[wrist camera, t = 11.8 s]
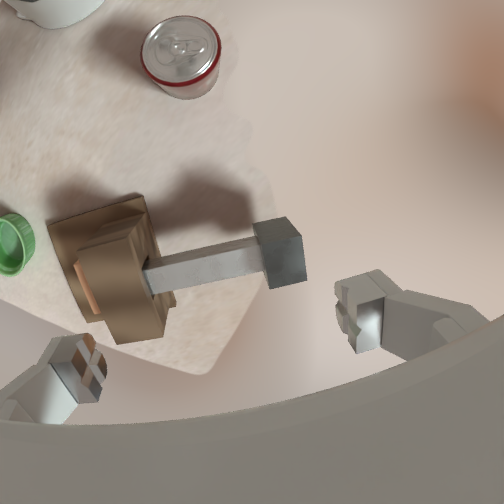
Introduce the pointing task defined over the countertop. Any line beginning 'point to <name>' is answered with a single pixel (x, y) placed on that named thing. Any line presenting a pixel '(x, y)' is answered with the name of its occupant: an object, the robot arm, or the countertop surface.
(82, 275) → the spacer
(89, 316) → the shaft stand
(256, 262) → the shaft
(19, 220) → the ramekin
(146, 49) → the soda can
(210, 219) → the countertop surface
